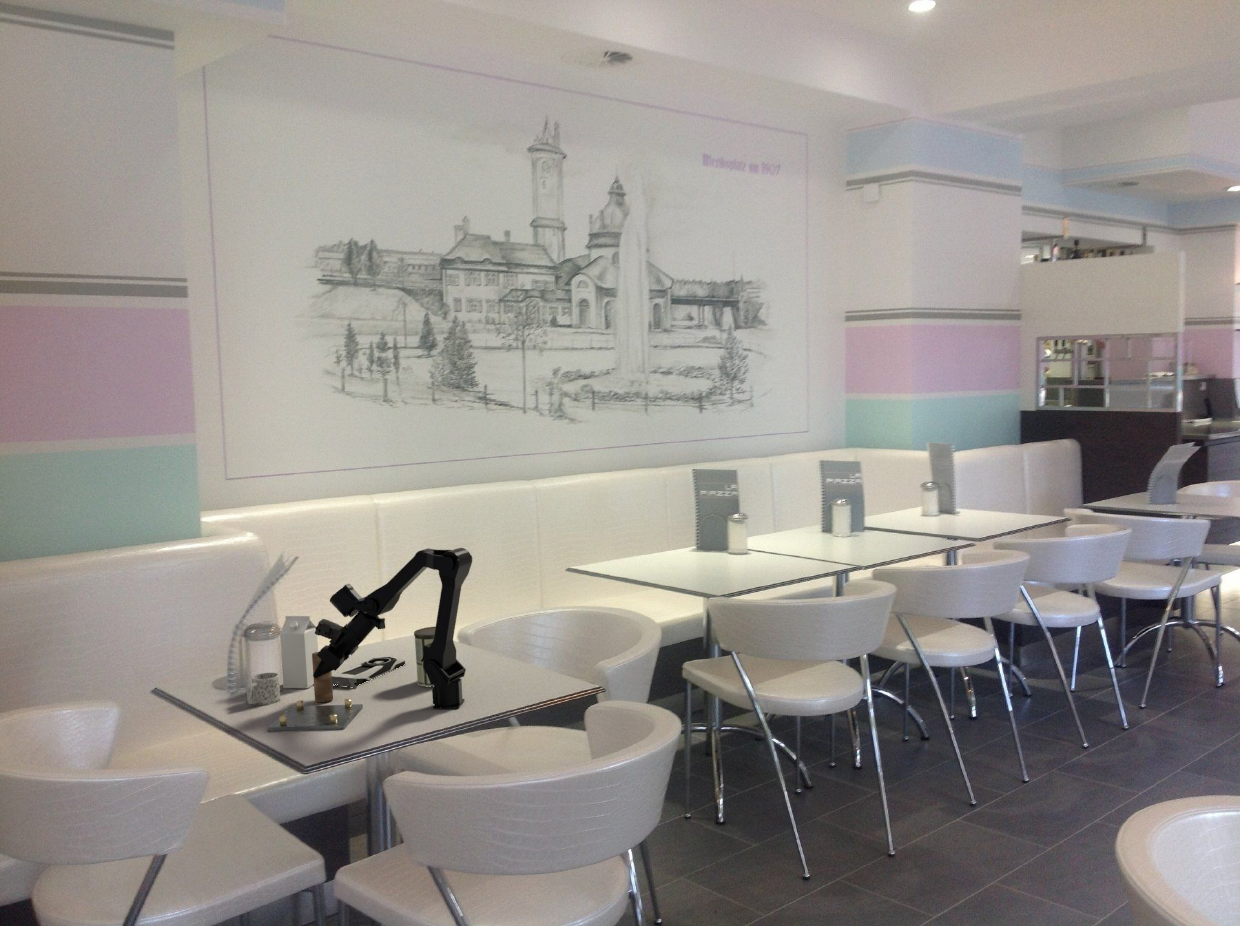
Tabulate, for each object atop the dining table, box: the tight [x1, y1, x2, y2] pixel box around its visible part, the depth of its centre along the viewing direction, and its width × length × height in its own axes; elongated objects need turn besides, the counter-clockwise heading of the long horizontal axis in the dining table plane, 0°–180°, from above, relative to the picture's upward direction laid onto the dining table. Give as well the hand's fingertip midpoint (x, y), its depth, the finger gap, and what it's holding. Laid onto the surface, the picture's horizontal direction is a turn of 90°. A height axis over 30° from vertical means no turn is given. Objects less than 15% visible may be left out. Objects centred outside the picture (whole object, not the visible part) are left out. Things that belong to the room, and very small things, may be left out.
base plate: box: [267, 698, 363, 733], centre depth 255 cm, size 18×16×3 cm
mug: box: [246, 672, 281, 706], centre depth 271 cm, size 10×7×7 cm
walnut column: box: [312, 651, 334, 703], centre depth 270 cm, size 4×4×12 cm
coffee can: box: [413, 626, 436, 687], centre depth 284 cm, size 10×10×14 cm
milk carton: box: [279, 615, 319, 689], centre depth 286 cm, size 7×7×19 cm
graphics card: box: [332, 655, 406, 689], centre depth 294 cm, size 10×3×25 cm
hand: (317, 674), depth 270 cm, fingers closed on walnut column, 4 cm apart
